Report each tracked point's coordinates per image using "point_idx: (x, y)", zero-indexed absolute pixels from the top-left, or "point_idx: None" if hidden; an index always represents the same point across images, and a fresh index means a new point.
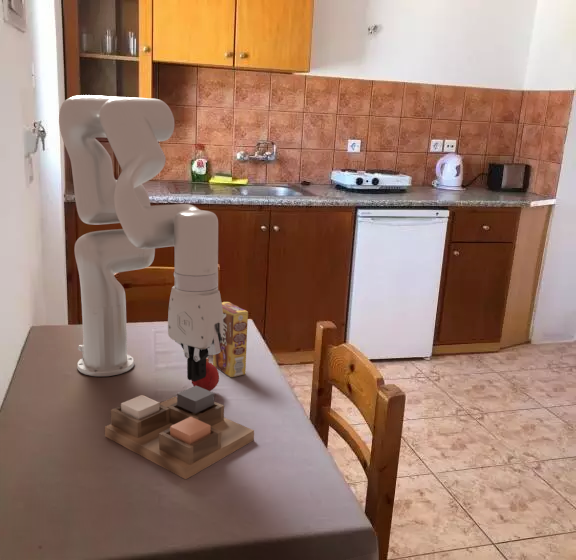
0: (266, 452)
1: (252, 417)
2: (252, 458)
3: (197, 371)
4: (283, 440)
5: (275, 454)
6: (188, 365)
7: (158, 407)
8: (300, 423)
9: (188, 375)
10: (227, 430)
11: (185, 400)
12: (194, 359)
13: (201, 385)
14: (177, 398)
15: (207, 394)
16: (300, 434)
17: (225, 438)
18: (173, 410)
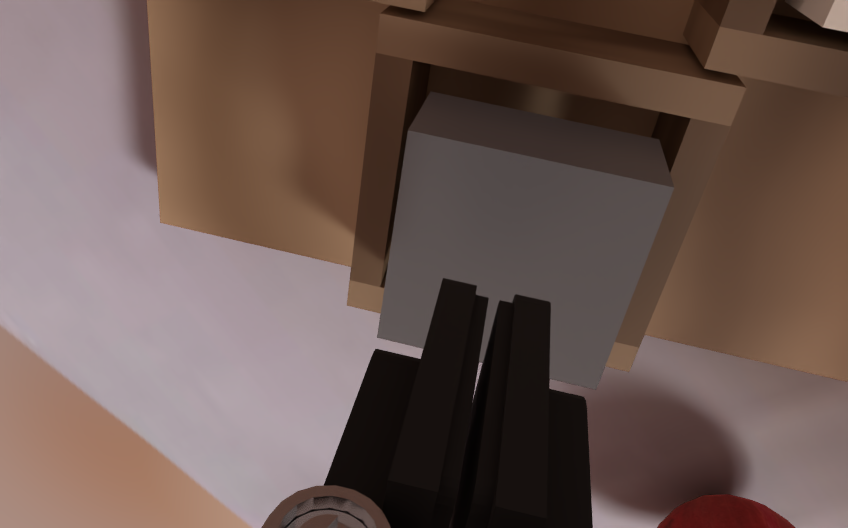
0: (62, 119)
1: (346, 384)
2: (65, 24)
3: (398, 390)
4: (89, 258)
5: (18, 124)
6: (520, 427)
7: (812, 5)
8: (143, 412)
9: (529, 325)
10: (272, 149)
11: (550, 146)
12: (375, 521)
13: (714, 518)
14: (662, 164)
15: (406, 292)
16: (76, 334)
17: (214, 54)
18: (657, 68)
